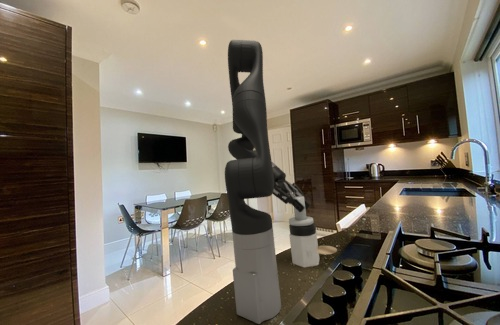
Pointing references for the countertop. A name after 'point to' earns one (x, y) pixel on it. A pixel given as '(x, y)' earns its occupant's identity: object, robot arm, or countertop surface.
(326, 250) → the disc
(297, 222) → the lid
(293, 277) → the countertop surface
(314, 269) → the countertop surface
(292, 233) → the jar
